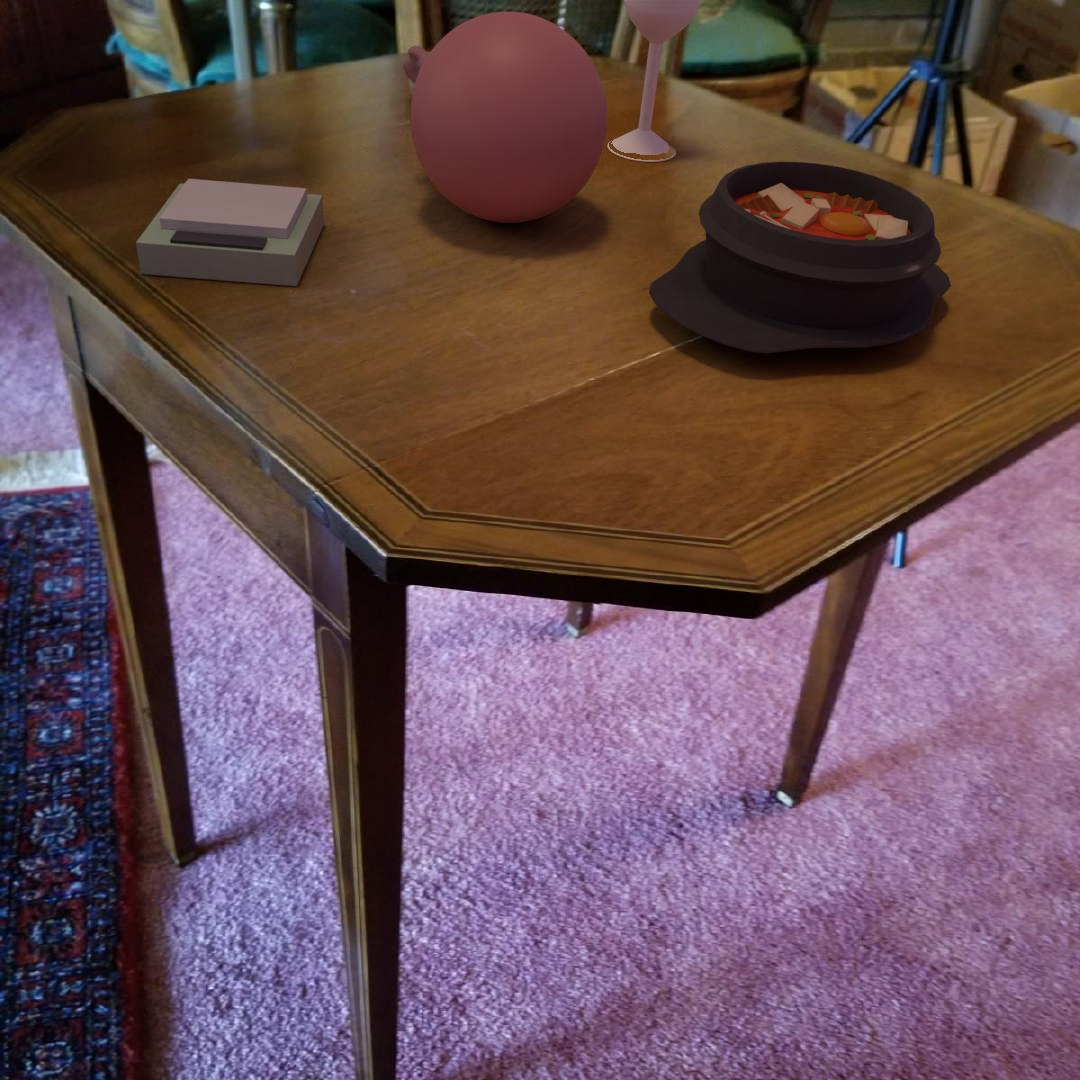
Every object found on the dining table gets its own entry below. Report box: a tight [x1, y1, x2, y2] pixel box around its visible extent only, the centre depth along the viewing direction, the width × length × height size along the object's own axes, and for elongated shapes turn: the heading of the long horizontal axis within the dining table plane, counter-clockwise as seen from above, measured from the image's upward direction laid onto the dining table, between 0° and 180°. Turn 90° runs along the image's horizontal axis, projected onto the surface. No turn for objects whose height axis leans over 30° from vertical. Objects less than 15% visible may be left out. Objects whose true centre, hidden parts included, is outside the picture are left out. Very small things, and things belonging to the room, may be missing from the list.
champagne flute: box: [607, 0, 700, 163], centre depth 97 cm, size 7×7×24 cm
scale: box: [135, 178, 325, 287], centre depth 80 cm, size 11×11×3 cm
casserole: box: [648, 161, 952, 354], centre depth 78 cm, size 25×19×8 cm
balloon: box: [402, 11, 608, 224], centre depth 86 cm, size 15×20×15 cm
